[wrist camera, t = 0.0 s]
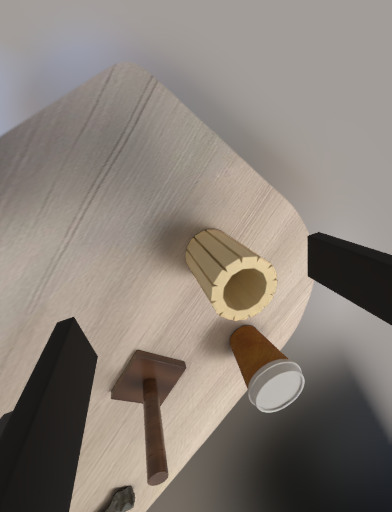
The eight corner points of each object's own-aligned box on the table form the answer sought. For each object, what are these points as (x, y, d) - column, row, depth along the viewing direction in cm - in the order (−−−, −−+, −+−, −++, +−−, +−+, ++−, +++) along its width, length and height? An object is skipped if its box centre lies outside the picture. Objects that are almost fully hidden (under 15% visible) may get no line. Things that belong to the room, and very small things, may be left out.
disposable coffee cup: (220, 360, 44) (249, 421, 33) (224, 322, 40) (257, 376, 30) (261, 351, 46) (300, 405, 35) (267, 315, 43) (313, 362, 32)
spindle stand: (137, 349, 37) (140, 450, 24) (184, 361, 41) (210, 453, 28) (111, 391, 39) (100, 507, 25) (159, 398, 43) (172, 502, 29)
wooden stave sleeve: (202, 219, 32) (239, 243, 21) (241, 243, 35) (289, 274, 24) (176, 264, 33) (197, 307, 22) (215, 282, 37) (250, 328, 26)
